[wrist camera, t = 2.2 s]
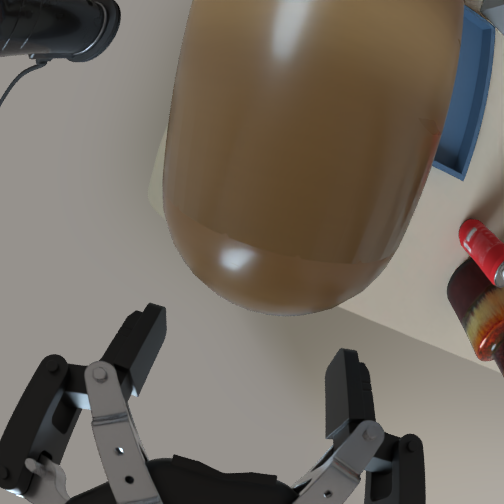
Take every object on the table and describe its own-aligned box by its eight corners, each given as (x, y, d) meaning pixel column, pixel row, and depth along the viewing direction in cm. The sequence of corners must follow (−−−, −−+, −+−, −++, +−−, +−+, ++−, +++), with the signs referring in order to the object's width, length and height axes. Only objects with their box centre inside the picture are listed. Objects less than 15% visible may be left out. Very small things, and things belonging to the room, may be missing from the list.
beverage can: (474, 210, 32) (516, 248, 22) (483, 232, 34) (521, 273, 24) (452, 229, 35) (489, 273, 25) (462, 251, 36) (496, 295, 26)
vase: (493, 250, 35) (553, 328, 17) (487, 295, 39) (530, 372, 22) (448, 265, 38) (501, 357, 21) (444, 311, 43) (480, 398, 25)
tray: (453, 174, 31) (463, 181, 28) (359, 135, 31) (365, 138, 28) (484, 29, 17) (495, 27, 15) (393, -23, 18) (399, -31, 15)
